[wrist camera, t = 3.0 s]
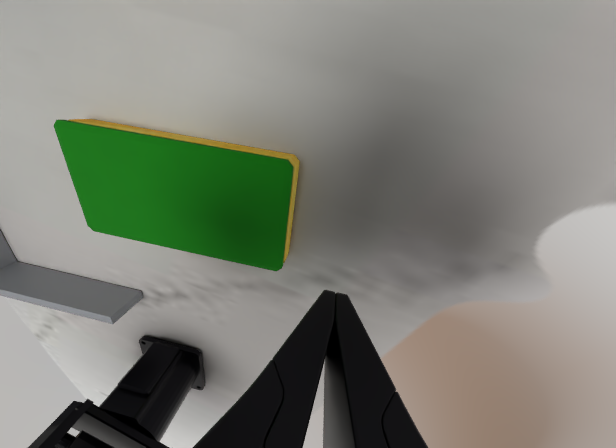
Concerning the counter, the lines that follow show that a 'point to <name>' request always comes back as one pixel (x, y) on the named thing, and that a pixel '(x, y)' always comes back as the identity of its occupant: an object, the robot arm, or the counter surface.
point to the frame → (63, 289)
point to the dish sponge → (183, 190)
